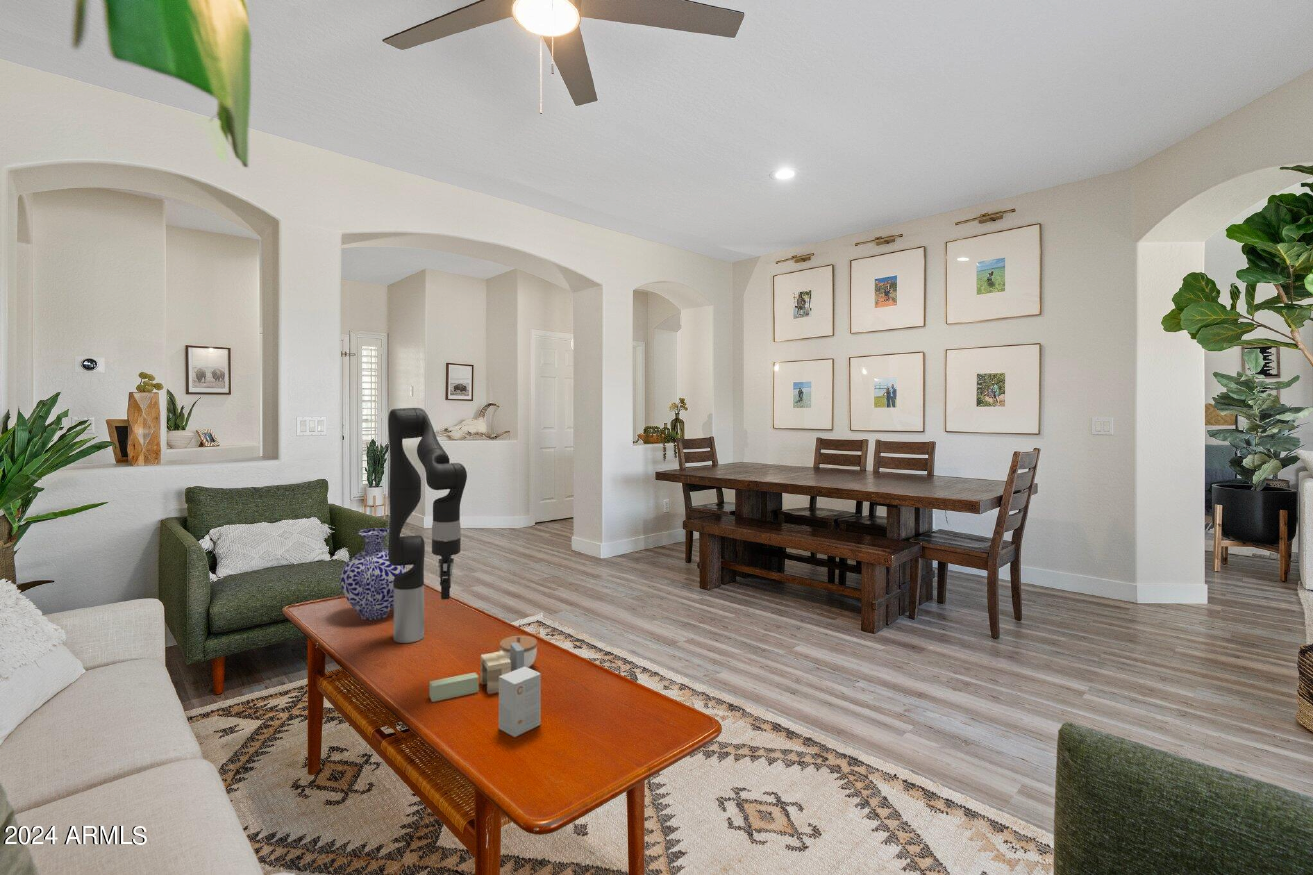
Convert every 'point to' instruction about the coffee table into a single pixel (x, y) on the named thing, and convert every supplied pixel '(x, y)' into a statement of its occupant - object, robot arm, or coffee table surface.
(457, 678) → the pale green rectangular bar
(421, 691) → the coffee table surface
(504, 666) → the block
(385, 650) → the coffee table surface
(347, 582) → the vase
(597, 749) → the coffee table surface
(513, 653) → the wall
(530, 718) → the small box
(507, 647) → the lidded jar
